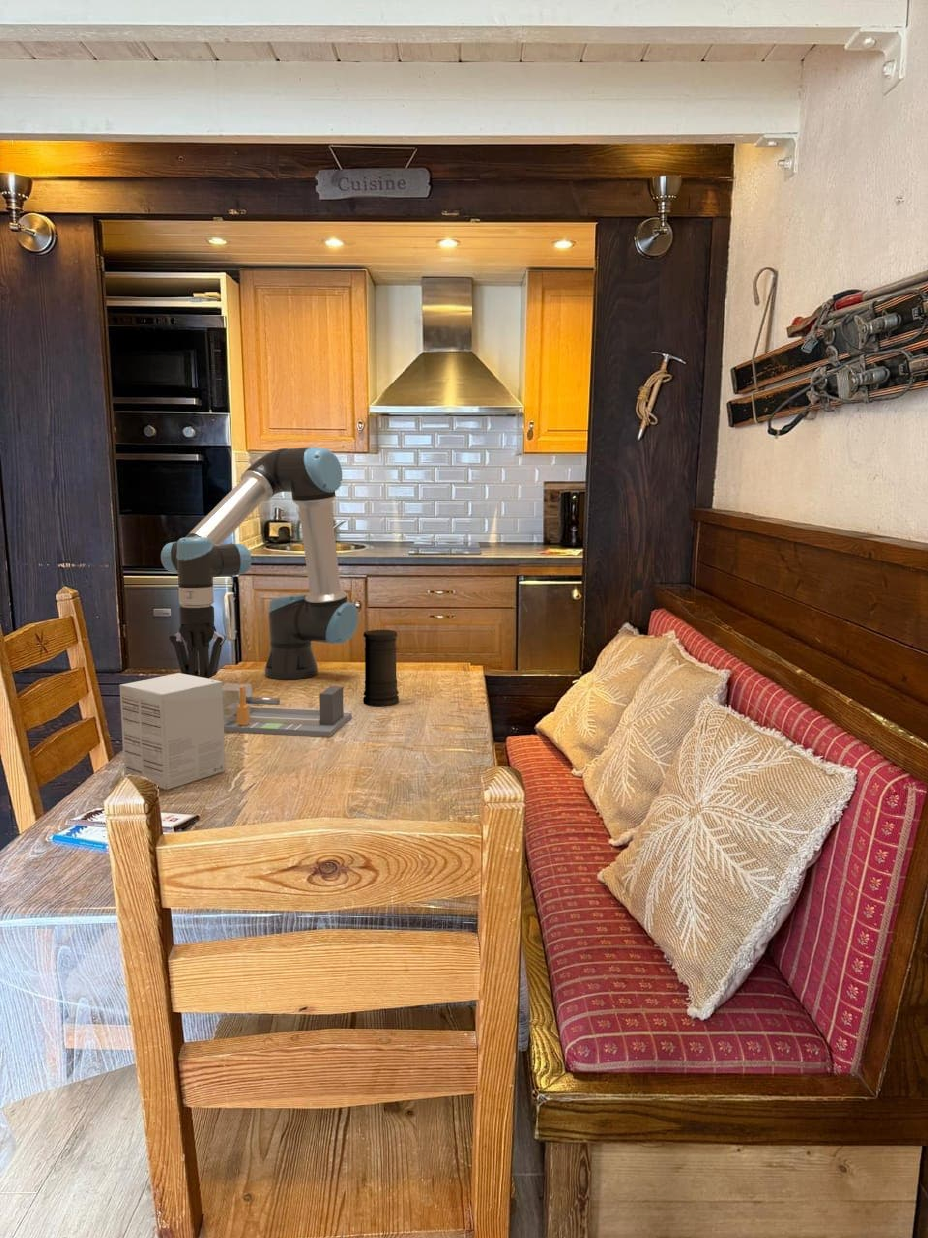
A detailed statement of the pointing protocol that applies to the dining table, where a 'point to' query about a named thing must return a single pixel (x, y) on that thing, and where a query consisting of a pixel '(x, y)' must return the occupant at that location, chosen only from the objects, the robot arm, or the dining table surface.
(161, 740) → the supplement box
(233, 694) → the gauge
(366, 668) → the container
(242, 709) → the orange t-shaped stamp
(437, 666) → the dining table surface
